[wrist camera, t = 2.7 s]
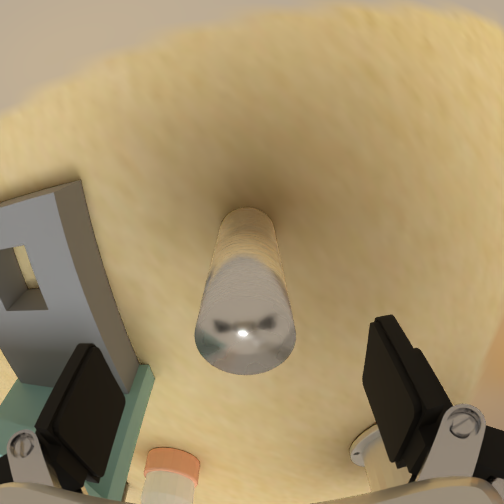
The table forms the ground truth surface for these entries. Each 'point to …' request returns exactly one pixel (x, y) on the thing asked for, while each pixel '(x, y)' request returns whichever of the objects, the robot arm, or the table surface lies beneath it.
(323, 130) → the table surface
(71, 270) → the socket stand
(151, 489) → the salt shaker
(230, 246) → the peg
